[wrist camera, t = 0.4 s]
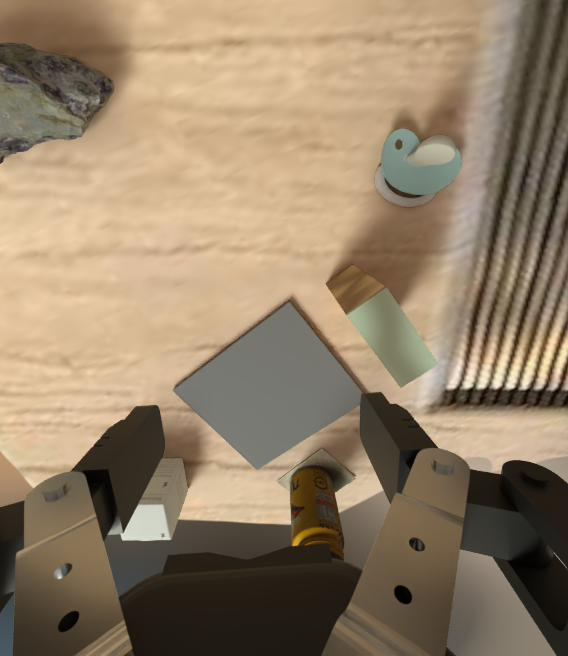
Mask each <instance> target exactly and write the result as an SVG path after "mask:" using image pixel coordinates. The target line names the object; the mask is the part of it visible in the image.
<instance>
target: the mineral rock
mask: <svg viewBox="0 0 568 656" xmlns="http://www.w3.org/2000/svg"><path fill="white" fill-rule="evenodd" d="M113 91H114V83H113V81H112V80H111V79H110V78H109V77H107V76H106V75H105V74H104V73H102V72H100V71H96V70H94V69H91V68H90V67H88V66H87V65H86V64H85V63H83V62H82V61H80V60H78V59H77V58H75V57H70V56H63V55H57V54H52V53H47V52H44V51H40V50H36V49H34V48H33V47H31V46H29V45H26V44H16V43H0V164H1V163H2V162H3V159H4V158H5V155H9V154H16V153H17V152H23V151H28V150H29V149H30V148H31V147H32V146H33V145H35V144H38V143H42V142H48V141H51V140H54V139H64V140H71V139H76V138H77V137H81V136H82V135H83V134H84V132H85V130H86V129H87V127H88V124H89V122H90V120H91V119H92V117H93V115H94V114H95V113H96V112H98V111H99V110H100V108H102V107H103V106H105V104H106V102H107V101H108V99H109V97H110V96H111V95H112V93H113Z"/></svg>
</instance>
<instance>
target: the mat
mask: <svg viewBox="0 0 568 656" xmlns="http://www.w3.org/2000/svg"><path fill="white" fill-rule="evenodd" d="M173 391H174V392H175V393H176V394H177V395H178V396H179V397H180V398H181V399H182V400H183V401H184V402H185V403H186V404H187V405H188V406H190V407H191V408H192V409H193V410H194V411H195V412H196V413H197V414H198V415H199V416H200V417H201V418H202V419H203V420H204V421H206V422H207V423H208V424H209V425H210V426H211V427H212V428H213V429H214V430H215V431H216V432H217V433H218V434H219V435H220V436H222V437H223V438H224V439H225V440H226V441H227V442H228V443H229V444H230V445H231V446H232V447H233V448H234V449H235V450H236V451H237V452H239V453H240V454H241V455H242V456H243V457H244V458H245V459H246V460H247V461H248V462H249V463H250V464H251V465H252V466H253V467H255V468H256V469H259V468H261V467H262V466H264V465H265V464H267V463H269V462H270V461H272V460H273V459H275V458H276V457H278V456H280V455H281V454H283V453H284V452H286V451H287V450H289V449H291V448H292V447H294V446H295V445H297V444H299V443H300V442H302V441H303V440H305V439H306V438H308V437H310V436H311V435H313V434H314V433H316V432H318V431H319V430H321V429H322V428H324V427H325V426H327V425H329V424H330V423H332V422H333V421H335V420H337V419H338V418H340V417H341V416H343V415H344V414H346V413H348V412H349V411H351V410H352V409H354V408H355V407H357V406H359V405H360V400H361V394H362V393H363V391H362V390H361V389H360V388H359V386H358V385H357V384H356V383H355V381H354V380H353V379H352V378H351V377H350V375H349V374H348V373H347V372H346V370H345V369H344V368H343V367H342V365H341V364H340V363H339V362H338V360H337V359H336V358H335V357H334V355H333V354H332V353H331V352H330V350H329V349H328V348H327V347H326V345H325V344H324V343H323V342H322V340H321V339H320V338H319V337H318V335H317V334H316V333H315V332H314V331H313V329H312V328H311V327H310V326H309V324H308V323H307V322H306V321H305V319H304V318H303V317H302V316H301V314H300V313H299V312H298V311H297V309H296V308H295V307H294V306H293V304H292V303H291V302H290V301H288V302H287V303H285V304H284V305H283V306H282V307H280V308H279V309H278V310H276V311H275V312H274V313H272V314H271V315H270V316H268V317H267V318H266V319H264V320H263V321H262V322H260V323H259V324H258V325H257V326H255V327H254V328H253V329H251V330H250V331H249V332H247V333H246V334H245V335H243V336H242V337H241V338H239V339H238V340H237V341H235V342H234V343H233V344H232V345H230V346H229V347H228V348H226V349H225V350H224V351H222V352H221V353H220V354H218V355H217V356H216V357H214V358H213V359H212V360H210V361H209V362H208V363H207V364H205V365H204V366H203V367H201V368H200V369H199V370H197V371H196V372H195V373H193V374H192V375H191V376H189V377H188V378H187V379H185V380H184V381H183V382H181V383H180V384H179V385H178V386H176V387H175V388H174V389H173Z"/></svg>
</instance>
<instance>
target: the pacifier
mask: <svg viewBox="0 0 568 656" xmlns="http://www.w3.org/2000/svg"><path fill="white" fill-rule="evenodd" d="M398 139H400V140H401V141H402V147H401V149H400V150H397V149H396V147H395V143H396V141H397V140H398ZM460 168H461V154H460V153H459V150H458V149H457V148H456V146H455V143H454V141H453V140H452V139H451V138H450V137H448V136H445V135H435V136H432V137H429V138H427V139H426V140H424V141H423V142H422V143H420V141H419V139H418V138H417V136H416V135H415V134H414V133H413V132H411V131H410V130H407V129H398V130H396V131H394V132H393V133H392V134H391V135H390V136H389V137H388V138H387V140H386V142H385V144H384V147H383V150H382V155H381V165H380V166H379V167H378V169H377V171H376V173H375V179H374V180H375V185H376V188H377V190H378V192H379V193H380V194H381V195H382V196H383V197H384V198H385V199H386V200H388V201H389V202H391V203H393V204H396V205H398V206H403V207H416V206H421V205H423V204H425V203H427V202H429V201H430V200H431V199H432V198H433V197H434V196H435V194H436V193H437V191H439V190H442V189H443V188H445V187H446V186H447V185H448V184H449V183H451V182H452V181H453V179H454V178H455V177H456V176H457V174H458V172H459V170H460ZM385 178H386V180H387V181H388V182H389V183H390V184H391V185H392V186H393V187H395V188H396V189H398V190H400V191H402V192H405V193H409V194H415V195H421V196H419V197H416V198H406V197H402V196H399V195H397V194H395V193H394V192H392V191H391V190H390V189H389V188H388V186H387V184H386V183H385Z"/></svg>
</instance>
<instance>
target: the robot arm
mask: <svg viewBox="0 0 568 656" xmlns="http://www.w3.org/2000/svg"><path fill="white" fill-rule="evenodd" d="M360 436H361V441H362V444H363V446H364V448H365V451H366V453H367V455H368V457H369V459H370V461H371V464H372V466H373V468H374V470H375V472H376V474H377V476H378V479H379V481H380V483H381V485H382V487H383V489H384V492H385V494H386V496H387V498H388V500H389V502H390V507H389V510H388V512H387V515H386V517H385V519H384V522H383V524H382V526H381V529H380V531H379V534H378V536H377V538H376V541H375V543H374V546H373V548H372V550H371V553H370V555H369V557H368V560H367V562H366V565H365V567H364V569H363V570H362V569H360V568H358V567H357V566H354V565H352V564H350V563H348V562H345V561H342V560H339V559H334V558H332V557H331V552H330V547H329V543H326V544H312V545H299V546H289V547H286V548H283V549H280V550H277V551H274V552H271V553H268V554H265V555H262V556H259V557H256V558H253V559H248V560H246V559H240V558H234V557H230V556H224V555H219V554H214V553H209V552H205V553H193V554H192V553H191V554H178V555H168V557H167V560H166V563H165V566H164V569H163V572H160V573H157V574H155V575H153V576H150V577H148V578H146V579H145V580H143V581H141V582H139V583H137V584H136V585H135V586H133V587H132V588H130V589H129V590H128V591H126V592H125V593H123V594H122V595H121V596H120V597H118V595H117V591H116V587H115V583H114V580H113V576H112V572H111V569H110V565H109V562H108V558H107V554H106V550H105V546H104V543H103V542H104V540H105V538H106V536H107V535H111V534H123V533H124V531H125V529H126V527H127V525H128V523H129V521H130V519H131V517H132V516H133V514H134V512H135V510H136V508H137V506H138V504H139V502H140V500H141V498H142V496H143V494H144V492H145V490H146V488H147V486H148V484H149V482H150V480H151V478H152V476H153V474H154V472H155V470H156V469H157V467H158V465H159V463H160V461H161V459H162V457H163V454H164V449H165V439H164V433H163V427H162V421H161V415H160V410H159V407H158V406H157V405H149V406H136V407H135V408H134V409H133V410H132V411H131V413H130V414H129V415H128V416H127V417H126V419H125V420H120V421H119V422H117V423H116V424H114V425H113V426H111V427H110V428H109V429H108V430H107V431H106V432H105V433H104V434H103V435H102V436H101V439H99V440H98V441H97V442H96V443H95V444H94V447H92V448H91V449H90V450H89V451H88V452H87V453H86V455H85V456H84V457H83V458H82V459H81V460H80V461H79V462H78V464H77V465H76V466H75V467H74V468H73V469H72V470H71V471H70V472H65V473H62V474H58V475H56V476H53V477H51V478H49V479H47V480H45V481H44V482H42V483H40V484H39V485H38V486H36V487H35V488H34V489H33V490H32V491H31V492H30V493H29V494H28V495H27V497H26V499H25V501H21V502H18V503H14V504H10V505H7V506H4V507H0V612H1V611H2V609H3V608H4V606H5V605H6V604H7V602H8V601H9V599H10V598H11V596H12V595H13V593H14V592H15V597H14V598H15V599H14V628H13V656H456V655H455V654H454V653H453V652H451V651H450V650H449V649H448V648H447V647H446V646H447V638H448V631H449V624H450V617H451V610H452V603H453V595H454V588H455V580H456V574H457V566H458V559H459V552H460V549H462V550H466V551H471V552H474V553H479V554H483V555H488V556H492V557H493V558H494V560H495V562H496V563H497V565H498V566H499V568H500V569H501V571H502V572H503V574H504V575H505V577H506V578H507V580H508V582H509V583H510V585H511V586H512V588H513V589H514V591H515V592H516V594H517V595H518V597H519V598H520V600H521V602H522V603H523V604H524V606H525V608H526V609H527V611H528V612H529V614H530V615H531V617H532V618H533V620H534V622H535V623H536V625H537V626H538V628H539V629H540V631H541V632H542V634H543V635H544V637H545V638H546V640H547V642H548V643H549V645H550V646H551V648H552V649H553V651H554V652H555V654H556V655H557V656H568V570H567V569H568V483H566V482H565V481H564V480H563V479H562V478H560V477H559V476H558V475H557V474H555V473H553V472H552V471H550V470H549V469H547V468H545V467H542V466H540V465H537V464H535V463H531V462H527V461H521V460H512V461H508V462H506V463H504V464H503V466H502V471H501V474H495V473H489V472H482V471H477V470H472V469H470V468H469V466H468V464H467V463H466V462H465V461H464V460H463V459H462V458H461V457H459V456H458V455H456V454H454V453H452V452H450V451H447V450H444V449H439V448H438V447H437V446H436V445H435V443H434V442H433V441H432V440H431V439H430V437H429V436H428V435H427V434H426V433H425V431H424V430H423V429H422V428H421V427H420V425H419V424H418V423H417V422H416V420H414V418H413V417H412V416H411V414H410V413H409V412H408V411H407V410H406V409H404V408H402V407H401V406H399V405H397V404H390V403H389V402H388V400H387V399H386V398H385V396H384V395H383V394H382V393H381V392H376V393H362V394H361V400H360ZM554 553H555V554H556V555H557V556H558V557H559V558H560V560H561V561H562V562H563V563H564V564H565V566H566V567H567V568H566V567H565V566H564V565H563V564H562V563H561V561H560V560H559V559H558V558H557V557H556V556H555V554H554Z"/></svg>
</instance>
